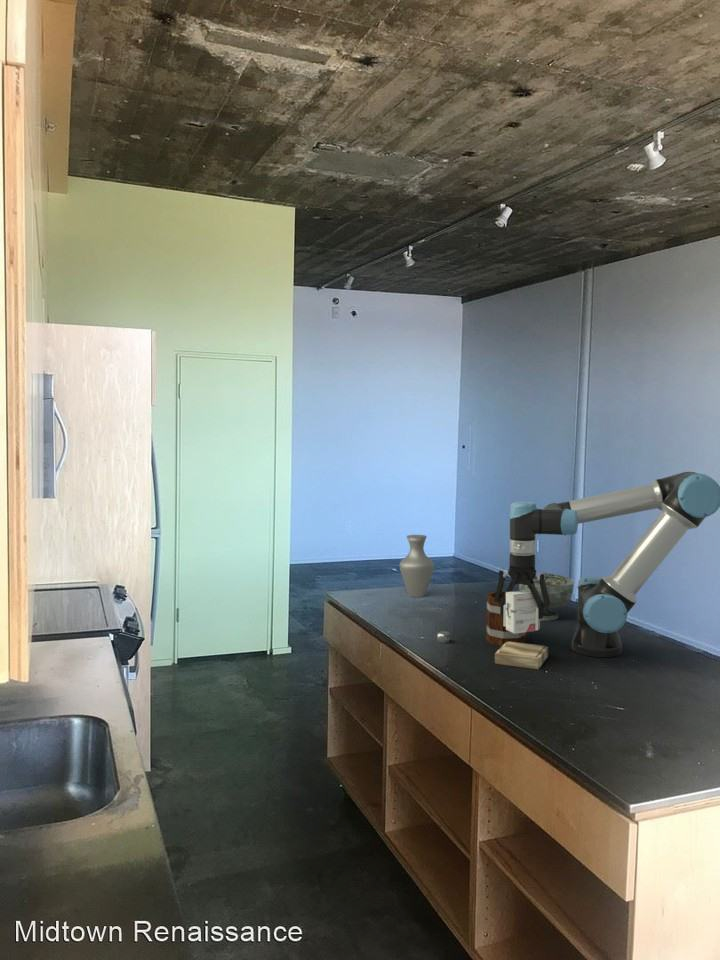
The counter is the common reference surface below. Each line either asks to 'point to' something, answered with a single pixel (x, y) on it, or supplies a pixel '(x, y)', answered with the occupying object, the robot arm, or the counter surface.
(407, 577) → the vase
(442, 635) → the silver metal dome
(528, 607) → the ink box
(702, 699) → the counter surface
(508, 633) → the mug
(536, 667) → the stand
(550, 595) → the bowl
